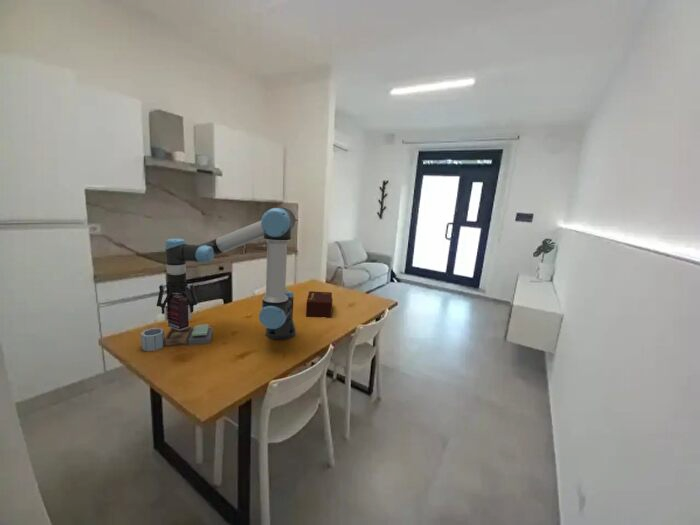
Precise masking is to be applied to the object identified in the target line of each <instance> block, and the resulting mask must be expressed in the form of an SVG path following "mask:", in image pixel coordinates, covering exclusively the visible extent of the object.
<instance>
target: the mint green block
mask: <svg viewBox="0 0 700 525" xmlns="http://www.w3.org/2000/svg"><path fill="white" fill-rule="evenodd" d="M208 328H210V323H209V324H195V325H194V327H193V329H194V330H193V333H192V336H199V335H207V332H208Z"/></svg>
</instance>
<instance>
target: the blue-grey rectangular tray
mask: <svg viewBox="0 0 700 525" xmlns="http://www.w3.org/2000/svg"><path fill="white" fill-rule="evenodd" d="M193 330H194V328H193V329H192V332H191V334H190V337H189V339H188V345H187V346H194V345H206V344H211V341H212V336H213V332H214V331H213V330H214V329H213V327H209V328H208V332H207V335H199V336H192V333H193Z"/></svg>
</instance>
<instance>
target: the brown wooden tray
mask: <svg viewBox="0 0 700 525" xmlns="http://www.w3.org/2000/svg"><path fill="white" fill-rule="evenodd" d="M169 328H170V329H169V330H168V332H167V334H166V336H164V347H177V346H189V345H188V339H189V337H190V334H191V332H192V329H194V326H189V328H187V329H184V330H181V331H179V330H176V329H173V328H171V327H169ZM164 347H163V348H164Z"/></svg>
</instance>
